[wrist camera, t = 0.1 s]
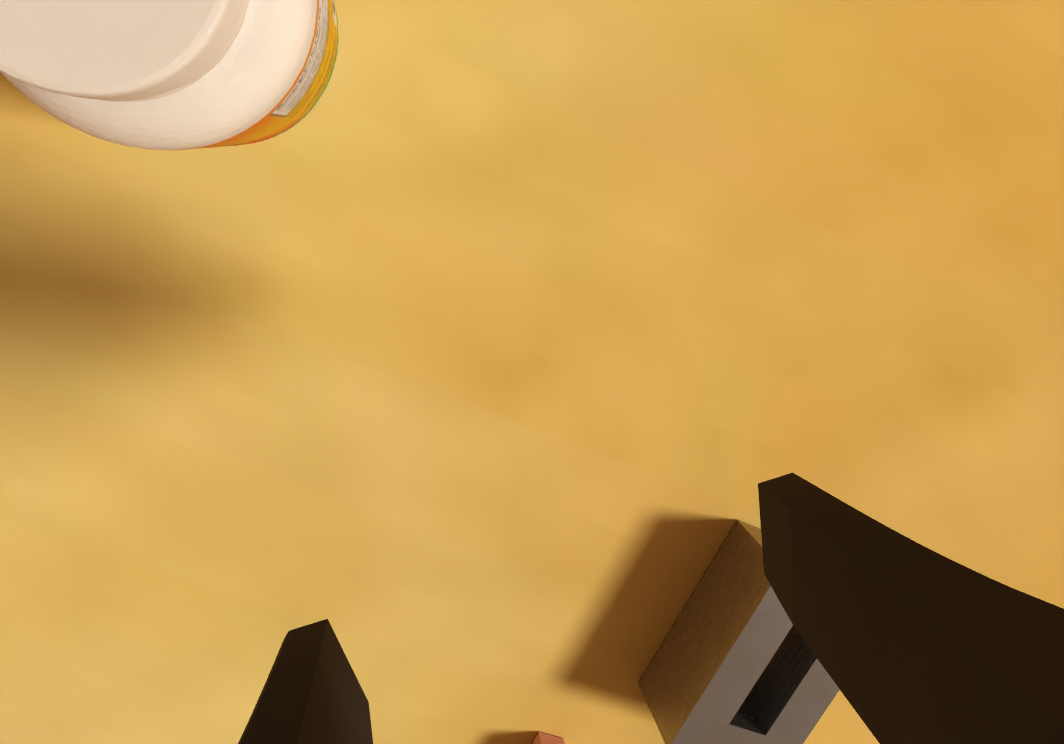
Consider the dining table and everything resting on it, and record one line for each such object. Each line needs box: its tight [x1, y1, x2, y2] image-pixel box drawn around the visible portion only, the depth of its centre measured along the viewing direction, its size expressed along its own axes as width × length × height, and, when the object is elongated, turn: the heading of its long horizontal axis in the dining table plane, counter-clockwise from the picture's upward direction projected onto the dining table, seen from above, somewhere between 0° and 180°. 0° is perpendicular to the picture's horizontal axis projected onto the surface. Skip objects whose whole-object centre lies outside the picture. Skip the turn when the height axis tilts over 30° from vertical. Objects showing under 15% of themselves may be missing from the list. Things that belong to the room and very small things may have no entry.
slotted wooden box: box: [638, 520, 840, 744], centre depth 25 cm, size 7×4×3 cm, turn 153°
